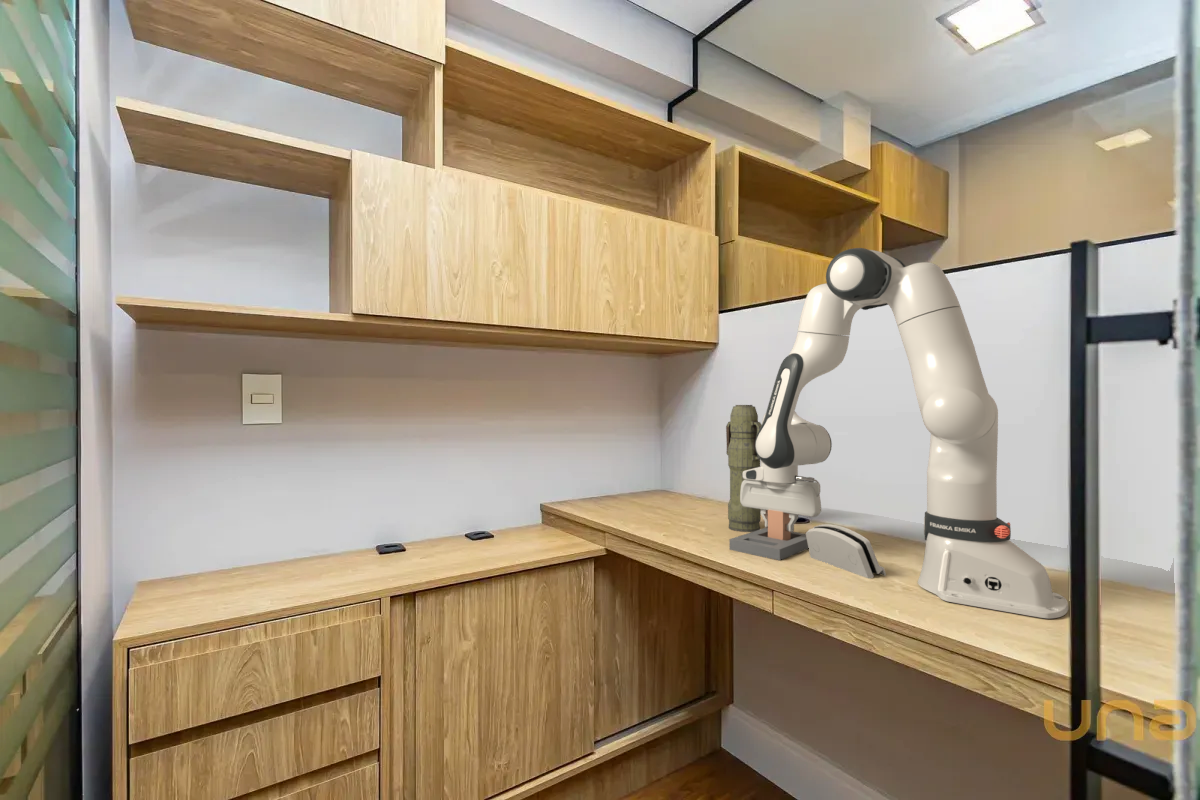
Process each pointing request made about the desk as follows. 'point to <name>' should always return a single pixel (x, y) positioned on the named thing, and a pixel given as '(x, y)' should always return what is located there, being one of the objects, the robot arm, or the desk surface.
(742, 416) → the thermos
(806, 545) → the socket block
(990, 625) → the desk surface
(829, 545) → the grey arched slotted block
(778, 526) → the square peg
